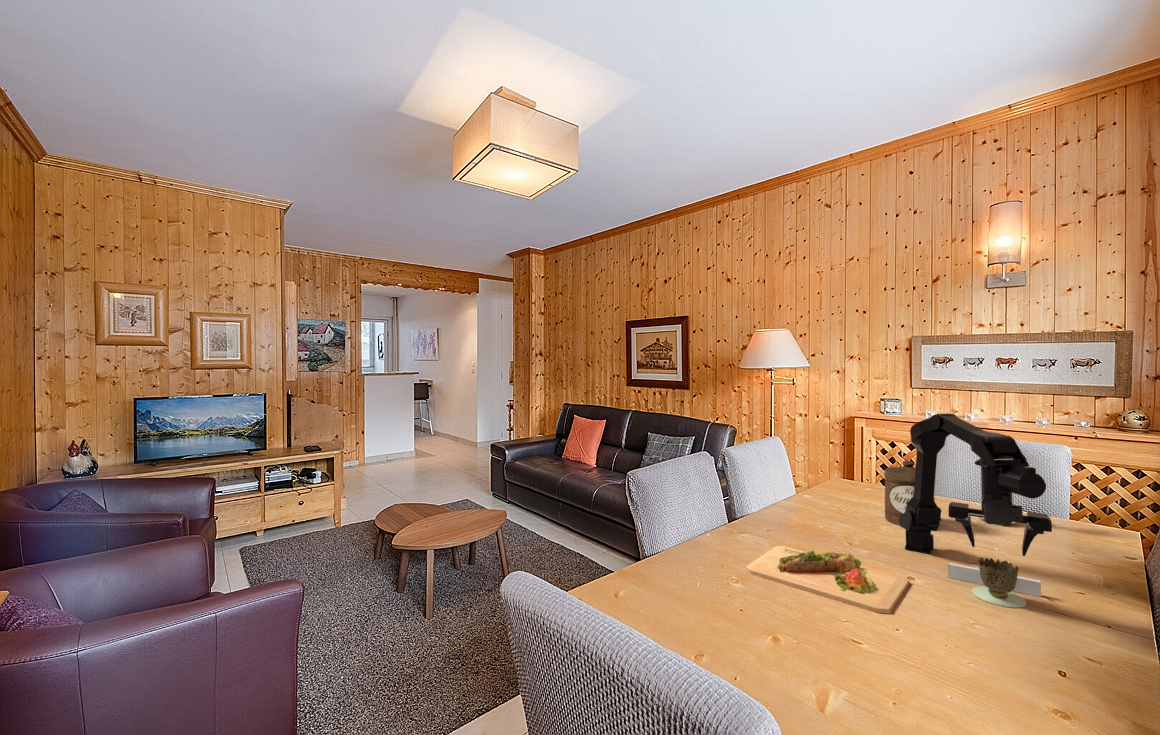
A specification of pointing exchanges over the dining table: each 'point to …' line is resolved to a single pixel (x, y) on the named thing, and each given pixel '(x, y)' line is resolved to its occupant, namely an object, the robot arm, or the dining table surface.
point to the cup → (998, 576)
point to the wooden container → (898, 490)
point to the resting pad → (1010, 601)
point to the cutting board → (831, 577)
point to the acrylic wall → (974, 576)
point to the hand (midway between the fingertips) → (997, 551)
